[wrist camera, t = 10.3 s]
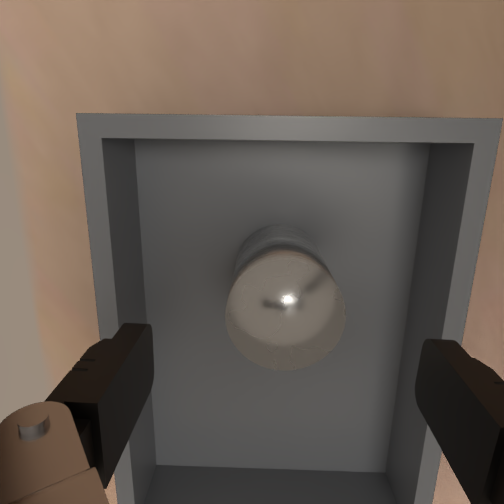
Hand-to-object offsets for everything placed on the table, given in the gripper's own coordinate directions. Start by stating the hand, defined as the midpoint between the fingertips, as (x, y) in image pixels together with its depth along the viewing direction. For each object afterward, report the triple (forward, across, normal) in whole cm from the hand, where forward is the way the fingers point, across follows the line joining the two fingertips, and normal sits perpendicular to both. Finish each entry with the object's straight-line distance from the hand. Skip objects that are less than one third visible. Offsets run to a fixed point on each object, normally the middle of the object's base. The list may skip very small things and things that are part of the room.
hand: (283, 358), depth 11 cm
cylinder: (+11, 0, +1) cm, 11 cm away
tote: (+12, 0, +5) cm, 13 cm away
